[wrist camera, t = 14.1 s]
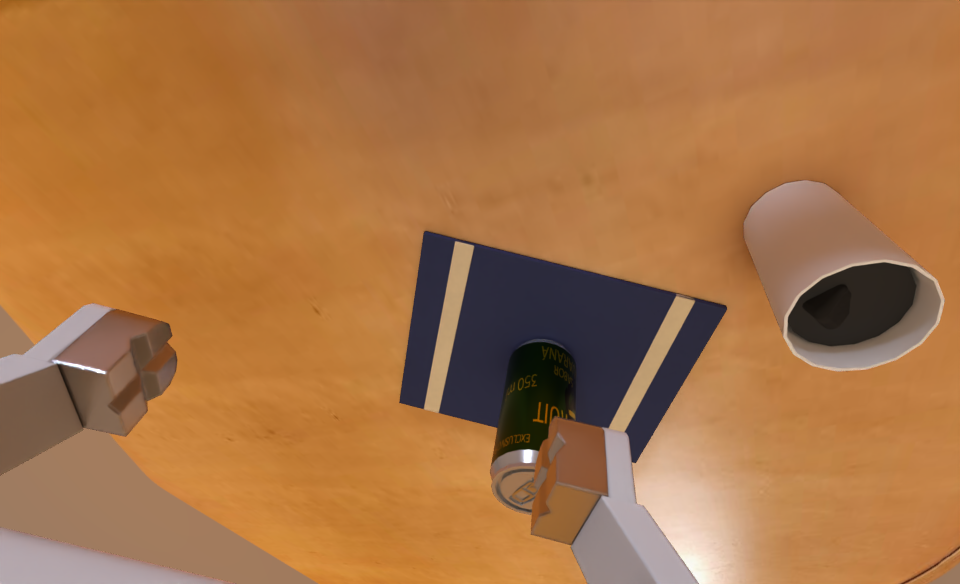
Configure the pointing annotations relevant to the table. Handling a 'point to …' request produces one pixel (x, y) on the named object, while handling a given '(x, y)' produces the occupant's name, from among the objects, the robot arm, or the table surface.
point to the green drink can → (530, 417)
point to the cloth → (547, 336)
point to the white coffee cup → (838, 280)
